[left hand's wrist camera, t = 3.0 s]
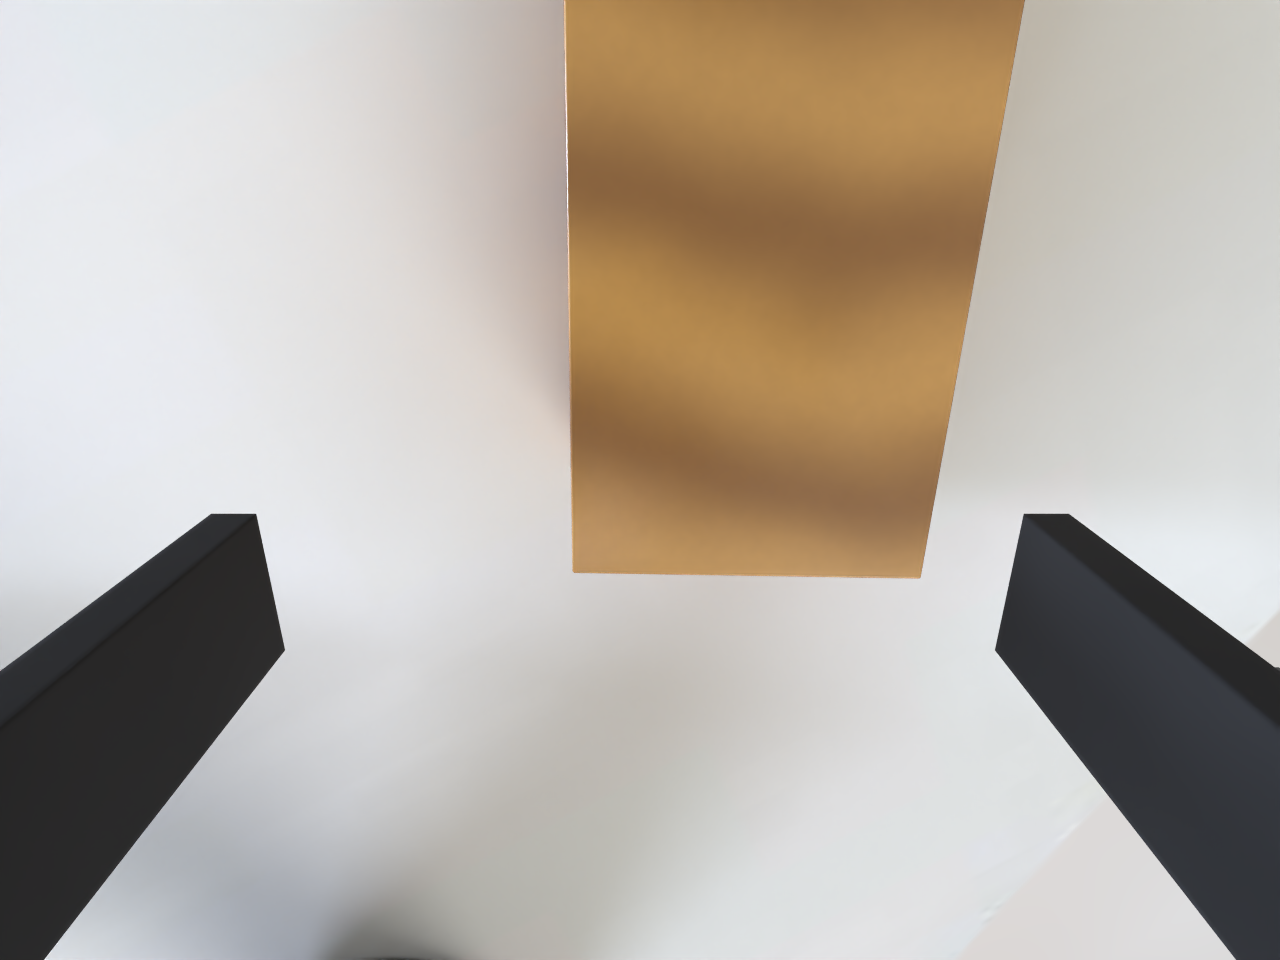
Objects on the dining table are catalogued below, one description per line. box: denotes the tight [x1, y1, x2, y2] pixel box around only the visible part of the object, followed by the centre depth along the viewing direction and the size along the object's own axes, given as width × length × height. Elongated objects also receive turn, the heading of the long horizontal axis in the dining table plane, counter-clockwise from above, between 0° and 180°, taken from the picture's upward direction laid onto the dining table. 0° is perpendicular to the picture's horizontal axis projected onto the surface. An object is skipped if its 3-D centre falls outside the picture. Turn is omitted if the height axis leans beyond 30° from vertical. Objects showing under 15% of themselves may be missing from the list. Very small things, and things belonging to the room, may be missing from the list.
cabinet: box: [564, 0, 1025, 579], centre depth 23 cm, size 22×11×10 cm, turn 179°
